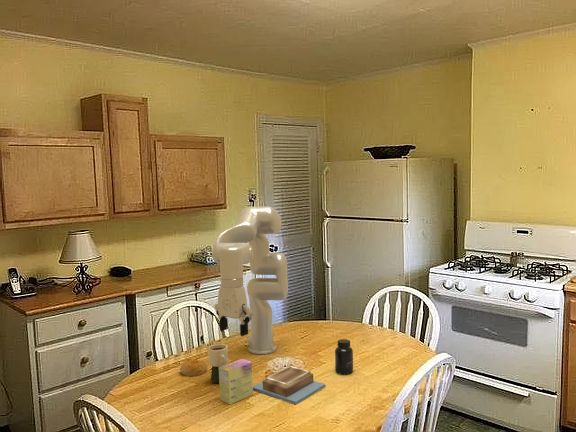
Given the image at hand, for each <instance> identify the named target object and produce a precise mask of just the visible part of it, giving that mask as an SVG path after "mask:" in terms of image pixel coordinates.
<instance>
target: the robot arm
mask: <svg viewBox="0 0 576 432" xmlns="http://www.w3.org/2000/svg"><path fill="white" fill-rule="evenodd" d="M282 224H283V223H282V218H281V215H280V213H278V211H277V210H276V209H275V208H273V207H271V206H269V205H268V206H266V205H265V206H264V205H263V206H262V205H261V206H259V205H258V206H247V207H244V208H243V209H242V210H241V211H240V213H239V215H238V218H237V220H236V223H235V225H234V226H231V227H230V228H228V229H226V230H224V231H223V232H221V233H220V234H219V235H218V236H217V238H216V240H215V242H214V244H213V247H212V252H211V253H212V254H211V257H212V260H213V261H214V263H216V264H218V265H220V266H219V267H220V270H219V271H220V278H219V281H220V285H219V287H218V295H217V303H216V304H214V305H213V306H214V309H215V314H216V315H217V319H218V320H219V331H220V332H224V331H226V330H228V329H229V325H228V323H229V321H228V318H231V319H238V320H239V322H240V324H239V334H240V336H241V337H245V336H247V335H248V334H249V323H250V336H247V338H246V339H245V342H246V343H249V345H248V347H247V351H248V352H249V353H250V354H253V355H268V354H272V353H275V352H276V351H277V350H278V346H277V344H275V343H274V330H273V329H274V327H273V326H274V325H273V308H272V307H271V305H270V303H269V302H268V301H284V300H286V299H287V298H288V293H289V282H288V262H287V261H288V259H287V258H286V255H285V254H284V253H282V252H271V251H270V241H269V239H268V237H267V236H266V235H275V234H279V233H280V231H282V230H281V229H282ZM248 264H249V270H250V272H251V274H253V275H256V276H257V275H258V276H276V277H253V278H251V279H250V280H249V281H248V282H247V286H246V289H247V291H246V289H245V286H244V265H248ZM246 292H247V293H246ZM247 295H248V301H247ZM248 302H249V307H248Z"/></svg>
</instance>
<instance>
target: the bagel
mask: <svg viewBox="0 0 576 432" xmlns="http://www.w3.org/2000/svg"><path fill="white" fill-rule="evenodd" d="M207 370H208V365H207V363H206V362H205V361H203V360H198V359H192V360H191V359H190V360H188V361H187V360H186V361H184V362H183V363H182V364H180V369H179V371H180V373H181V374H183V375H184V376H187V377H197V376H200V375H203V374H205V372H207Z"/></svg>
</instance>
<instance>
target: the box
mask: <svg viewBox="0 0 576 432" xmlns="http://www.w3.org/2000/svg"><path fill="white" fill-rule="evenodd" d="M253 379H254V378H253V362H252V361H250V360H247V359H244V358H240V359H237V360H235V361H231V362H228V363H227V364H225V365H222V366H219V382H218V383H219V400H220V401H222V402H224V403H226V404H228V405H233V404H234V403H236V402H238V401H239V402H240V401H242V400H245V399H246V398H249V397H250V396H254V390H253V386H254V383H253Z"/></svg>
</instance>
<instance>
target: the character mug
mask: <svg viewBox="0 0 576 432" xmlns="http://www.w3.org/2000/svg"><path fill="white" fill-rule="evenodd" d="M207 349H208V350H207V351H208V353H207V355H208V364H209V366H211V369H210V370H211V373H210V382H212V383H219V366H222V365H225V364H228V363H229V358H228V356H229V355H228V353H229V351H228V345H227V344H225V343H224V344H223V343H217V344H211V345H210V346H208V348H207Z"/></svg>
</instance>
